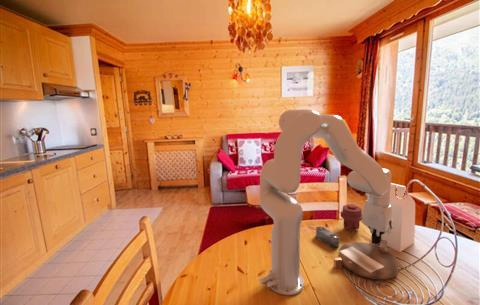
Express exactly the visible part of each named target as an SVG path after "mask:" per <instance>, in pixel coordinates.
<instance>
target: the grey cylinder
mask: <svg viewBox="0 0 480 305" xmlns="http://www.w3.org/2000/svg"><path fill="white" fill-rule="evenodd" d="M315 239H317V240H319V242H320V241H321V242H322V243H323V244H325V245H326V246H328V247H329V248H332V249H340V235H338V234H336V233H335V232H333V231H331V230H329V229H327V228H326V227H324V226H317V227H316V228H315Z"/></svg>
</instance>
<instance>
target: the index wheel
mask: <svg viewBox="0 0 480 305" xmlns="http://www.w3.org/2000/svg"><path fill="white" fill-rule="evenodd" d="M339 257H340V258H341V259H342V266H343V267H345V268H346V269H347V270H348V271H350V272H352V273H354V274H356V275H358V276H361V277H364V278H367V279H373V280H388V279H391V278H393V277H396V275H397V274H398V272H399V262H398V259H397V258H396V256H395V255H394V254H392V253H391V252H389V251H388V246H387V241H386V240H380V243H379V246H378V245H375V244H373V243H368V242H361V241H351V242H346V243H344V244H342V245H341V246H339V248H338V258H339ZM397 270H398V271H397Z"/></svg>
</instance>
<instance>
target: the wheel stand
mask: <svg viewBox="0 0 480 305" xmlns="http://www.w3.org/2000/svg"><path fill="white" fill-rule="evenodd" d="M333 267H334V268H335V270H336V269H337V270H338V269H342V268H343V264H342V259H341V258H340V257H339V256H338V257H334V258H333Z"/></svg>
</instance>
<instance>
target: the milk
mask: <svg viewBox="0 0 480 305" xmlns="http://www.w3.org/2000/svg"><path fill="white" fill-rule="evenodd" d="M395 185H397V186H398V187H397V191H396V194H397V196H398V197H399V198H402V197H403V196H404V193H405V191H406V189H407V187H406V185H401V184H397V183H393V182H391V189H390V205H391V208H392V216H393V225H392V229H391V234H390V235H386V234H382V235H381V240H386V241H387V248H388V247H389V248H391V249H393V250H395V251H398V252H401V253H402V251H404V250H405V249H408V248H409V247H410V246H412V245H414V244H415V233H416V232H415V231H416V202H415V200H414V198H412V196H411V195H410V194H409V191H407V195H406V197H405V199H397V198H396V197H395Z"/></svg>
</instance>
